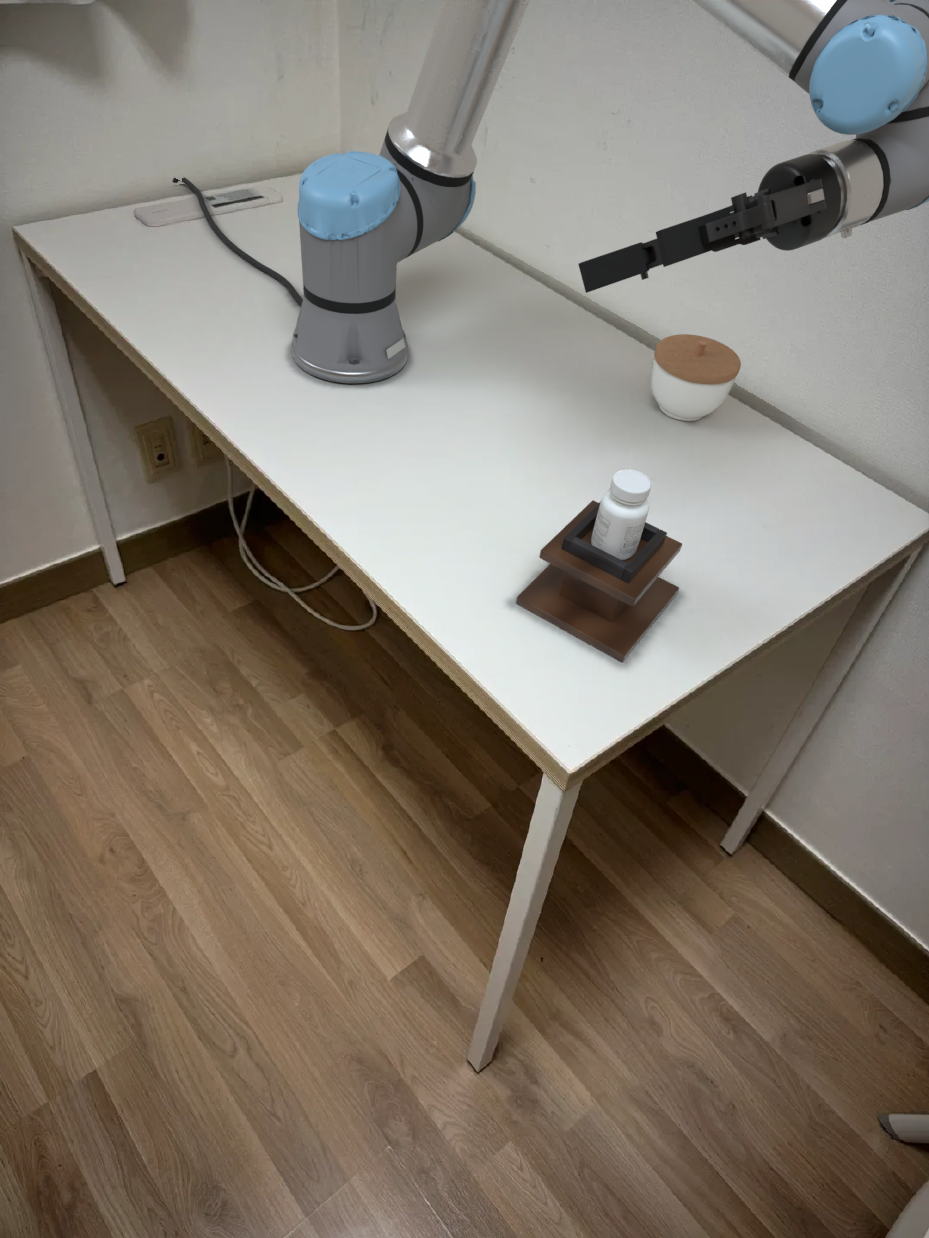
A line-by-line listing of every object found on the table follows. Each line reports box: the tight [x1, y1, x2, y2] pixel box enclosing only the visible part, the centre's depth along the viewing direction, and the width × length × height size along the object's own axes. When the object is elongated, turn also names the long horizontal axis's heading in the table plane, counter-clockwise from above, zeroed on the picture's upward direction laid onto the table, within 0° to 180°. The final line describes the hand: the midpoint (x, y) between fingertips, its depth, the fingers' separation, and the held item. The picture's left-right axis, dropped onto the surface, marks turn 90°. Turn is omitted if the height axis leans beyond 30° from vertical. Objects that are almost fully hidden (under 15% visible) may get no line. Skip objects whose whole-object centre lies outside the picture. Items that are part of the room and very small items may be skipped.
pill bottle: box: [591, 468, 652, 560], centre depth 76 cm, size 4×4×8 cm
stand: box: [515, 500, 683, 663], centre depth 81 cm, size 12×12×8 cm
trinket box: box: [650, 333, 742, 422], centre depth 107 cm, size 11×11×9 cm
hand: (619, 264), depth 73 cm, fingers open, 13 cm apart
